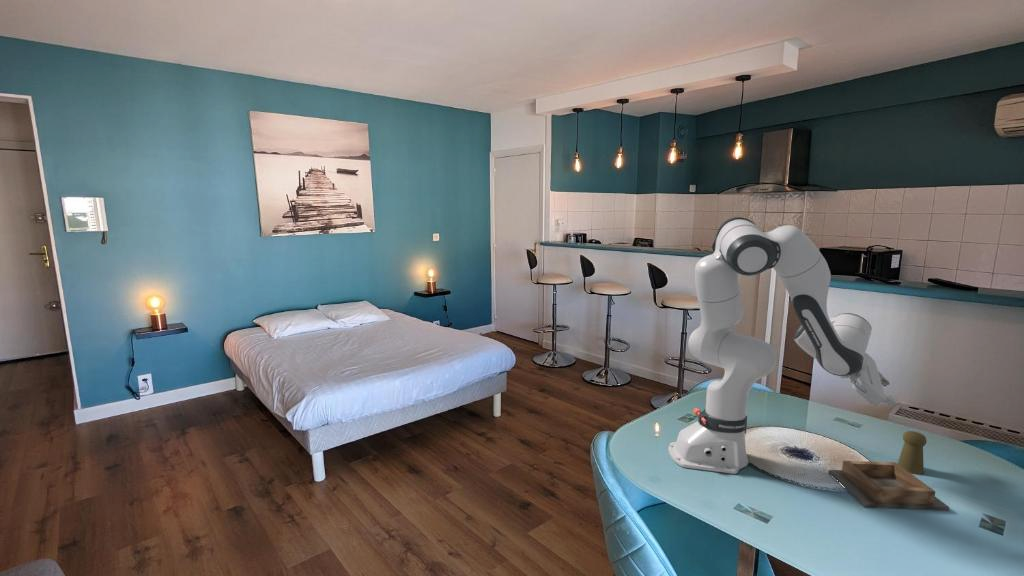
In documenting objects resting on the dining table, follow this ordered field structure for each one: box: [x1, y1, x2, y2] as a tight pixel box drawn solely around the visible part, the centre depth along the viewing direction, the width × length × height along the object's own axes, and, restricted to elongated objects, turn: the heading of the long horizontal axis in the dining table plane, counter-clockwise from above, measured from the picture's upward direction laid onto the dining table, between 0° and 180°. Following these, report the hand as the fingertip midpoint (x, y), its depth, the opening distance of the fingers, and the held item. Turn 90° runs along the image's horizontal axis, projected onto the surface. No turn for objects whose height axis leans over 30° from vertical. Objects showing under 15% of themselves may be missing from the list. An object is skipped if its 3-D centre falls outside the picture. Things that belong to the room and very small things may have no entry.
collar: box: [827, 460, 950, 512], centre depth 128 cm, size 20×16×4 cm
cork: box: [896, 430, 927, 475], centre depth 138 cm, size 6×6×11 cm
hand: (890, 393), depth 136 cm, fingers open, 8 cm apart
